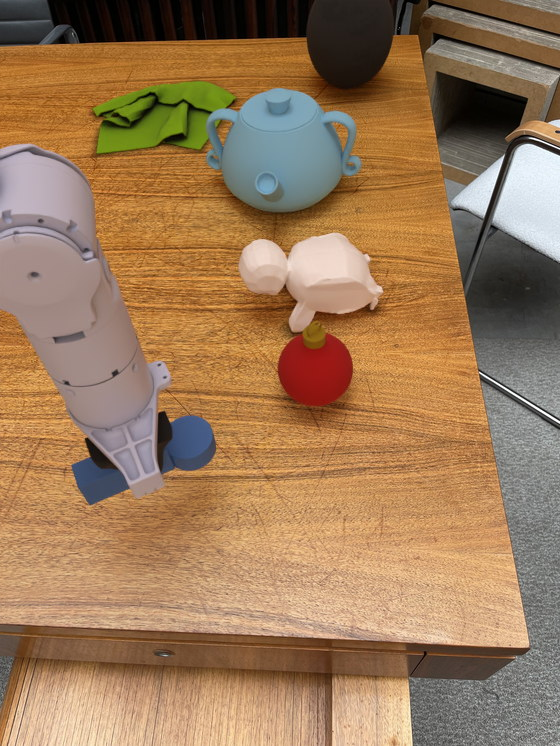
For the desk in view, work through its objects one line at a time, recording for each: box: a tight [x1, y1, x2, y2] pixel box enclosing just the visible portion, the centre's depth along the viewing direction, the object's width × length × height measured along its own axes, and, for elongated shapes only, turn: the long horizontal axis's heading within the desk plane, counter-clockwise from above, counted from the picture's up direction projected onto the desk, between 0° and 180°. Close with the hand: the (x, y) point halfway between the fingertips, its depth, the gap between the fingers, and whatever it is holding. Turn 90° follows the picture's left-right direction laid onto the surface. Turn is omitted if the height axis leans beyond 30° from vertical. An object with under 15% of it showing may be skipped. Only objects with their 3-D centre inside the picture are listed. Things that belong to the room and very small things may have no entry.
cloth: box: [92, 80, 237, 155], centre depth 93 cm, size 20×22×2 cm
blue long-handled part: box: [70, 414, 217, 506], centre depth 49 cm, size 11×4×3 cm, turn 115°
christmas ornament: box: [277, 320, 354, 407], centre depth 59 cm, size 7×7×10 cm
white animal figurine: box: [237, 232, 384, 333], centre depth 67 cm, size 9×8×15 cm
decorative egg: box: [305, 0, 395, 90], centre depth 91 cm, size 12×12×15 cm
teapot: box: [205, 87, 362, 213], centre depth 76 cm, size 20×20×13 cm
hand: (143, 459), depth 49 cm, fingers closed on blue long-handled part, 2 cm apart
